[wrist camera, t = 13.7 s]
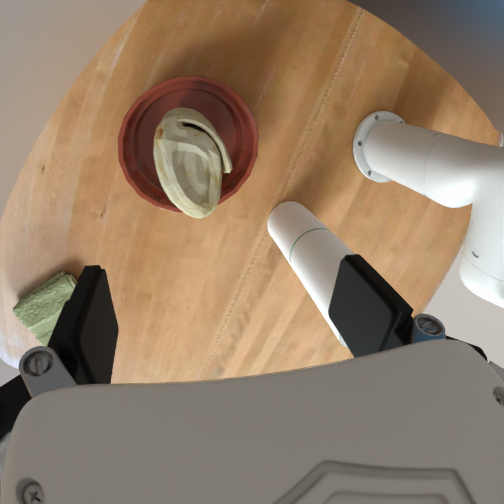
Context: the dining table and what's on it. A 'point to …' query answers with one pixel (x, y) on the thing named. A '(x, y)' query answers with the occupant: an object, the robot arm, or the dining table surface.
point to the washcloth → (45, 305)
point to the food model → (190, 161)
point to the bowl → (203, 101)
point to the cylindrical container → (309, 252)
